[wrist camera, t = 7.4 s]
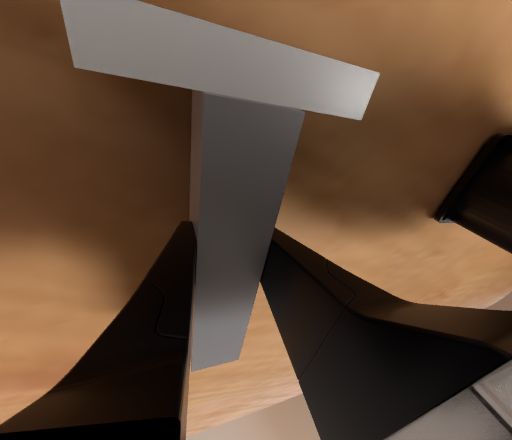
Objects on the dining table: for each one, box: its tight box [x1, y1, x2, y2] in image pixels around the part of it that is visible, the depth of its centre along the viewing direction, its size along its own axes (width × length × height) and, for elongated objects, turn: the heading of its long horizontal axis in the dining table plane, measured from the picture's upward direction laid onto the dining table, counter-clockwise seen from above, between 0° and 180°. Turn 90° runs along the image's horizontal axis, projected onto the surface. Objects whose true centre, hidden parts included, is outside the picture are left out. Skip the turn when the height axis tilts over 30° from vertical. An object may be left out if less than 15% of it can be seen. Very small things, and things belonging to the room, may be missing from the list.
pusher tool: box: [60, 0, 380, 372], centre depth 9 cm, size 13×7×3 cm, turn 169°
